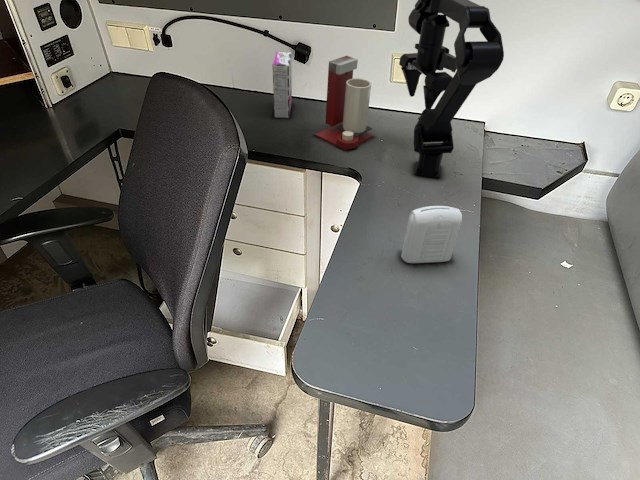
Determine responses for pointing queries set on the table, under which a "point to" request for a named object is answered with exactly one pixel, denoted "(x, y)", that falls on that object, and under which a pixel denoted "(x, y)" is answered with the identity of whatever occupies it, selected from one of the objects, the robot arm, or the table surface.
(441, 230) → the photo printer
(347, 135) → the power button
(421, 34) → the robot arm
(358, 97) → the tumbler
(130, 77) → the table surface
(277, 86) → the candy bar box
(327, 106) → the coffee maker tower
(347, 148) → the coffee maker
